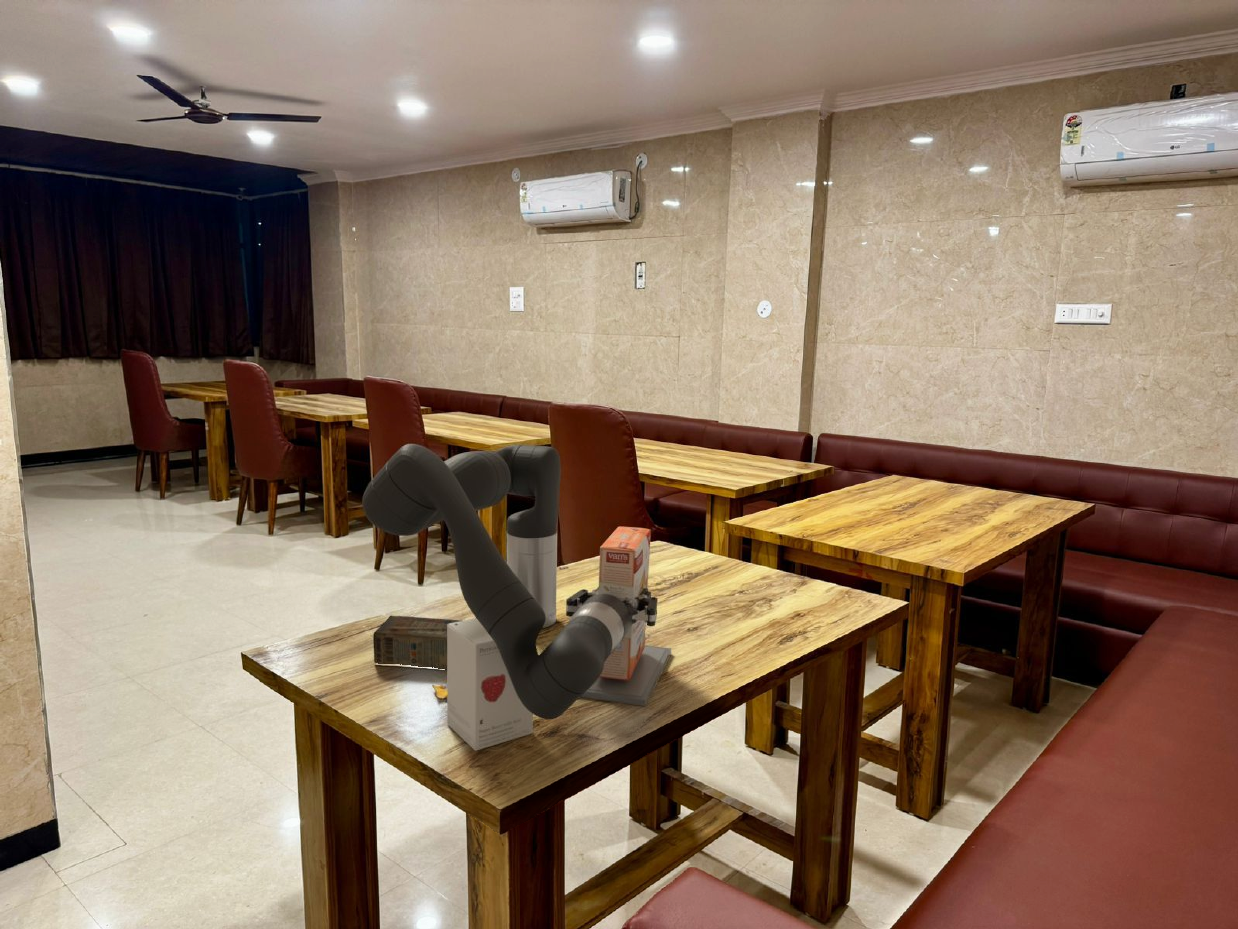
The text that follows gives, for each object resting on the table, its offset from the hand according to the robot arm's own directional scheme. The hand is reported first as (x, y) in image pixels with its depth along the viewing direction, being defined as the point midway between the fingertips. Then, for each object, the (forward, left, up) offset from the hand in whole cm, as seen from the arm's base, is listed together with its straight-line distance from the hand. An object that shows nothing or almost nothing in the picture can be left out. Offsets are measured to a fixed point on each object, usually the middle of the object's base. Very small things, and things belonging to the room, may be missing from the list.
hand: (626, 592), depth 129 cm
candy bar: (-19, -12, -14) cm, 26 cm away
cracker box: (0, -1, -12) cm, 12 cm away
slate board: (0, -1, -13) cm, 13 cm away
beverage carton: (-30, -5, -14) cm, 34 cm away
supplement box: (-13, -24, -14) cm, 30 cm away
